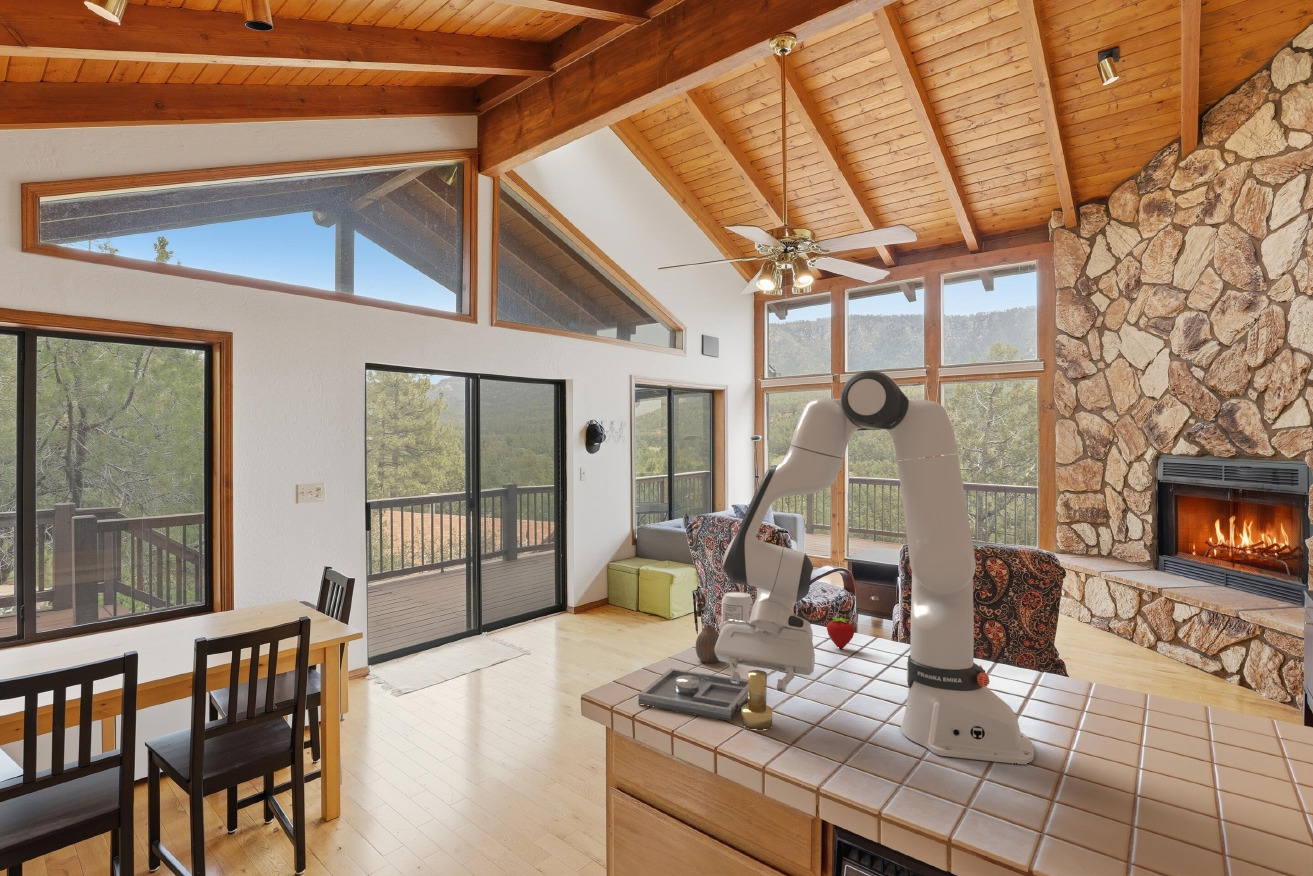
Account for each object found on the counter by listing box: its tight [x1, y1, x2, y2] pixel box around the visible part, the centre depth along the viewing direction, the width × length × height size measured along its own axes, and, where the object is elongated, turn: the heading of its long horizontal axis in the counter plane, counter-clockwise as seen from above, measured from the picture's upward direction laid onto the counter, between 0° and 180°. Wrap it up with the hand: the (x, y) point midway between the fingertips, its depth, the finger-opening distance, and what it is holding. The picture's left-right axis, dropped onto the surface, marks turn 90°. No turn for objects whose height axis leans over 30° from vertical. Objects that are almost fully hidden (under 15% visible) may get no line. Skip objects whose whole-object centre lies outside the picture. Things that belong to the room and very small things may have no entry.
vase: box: [695, 624, 720, 664], centre depth 168 cm, size 7×7×9 cm
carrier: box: [637, 668, 748, 722], centre depth 142 cm, size 20×18×4 cm
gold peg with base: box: [740, 669, 774, 730], centre depth 129 cm, size 6×6×10 cm
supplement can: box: [720, 591, 754, 625], centre depth 176 cm, size 8×8×15 cm
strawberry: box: [826, 612, 855, 649], centre depth 179 cm, size 6×8×10 cm
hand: (757, 686), depth 130 cm, fingers open, 8 cm apart
